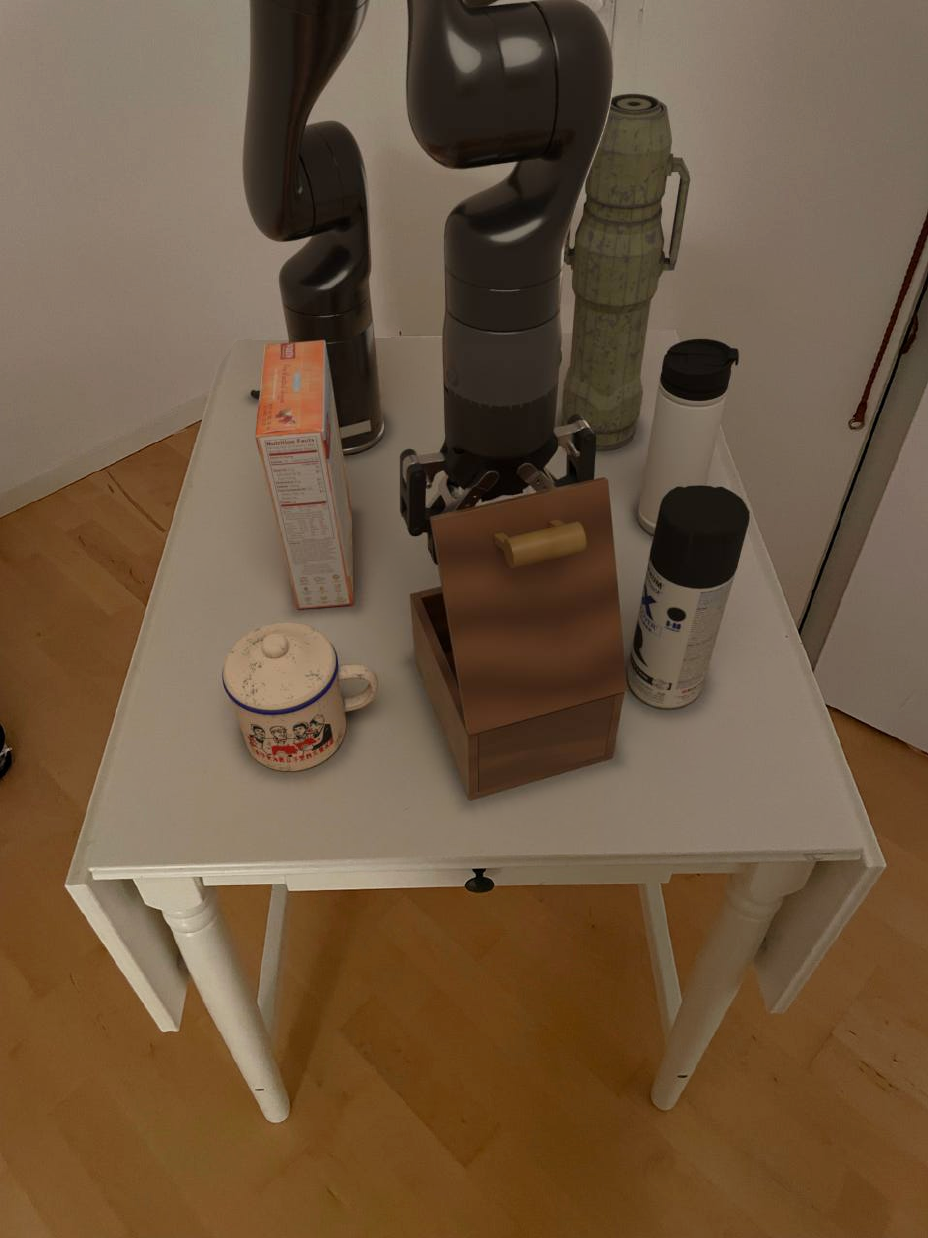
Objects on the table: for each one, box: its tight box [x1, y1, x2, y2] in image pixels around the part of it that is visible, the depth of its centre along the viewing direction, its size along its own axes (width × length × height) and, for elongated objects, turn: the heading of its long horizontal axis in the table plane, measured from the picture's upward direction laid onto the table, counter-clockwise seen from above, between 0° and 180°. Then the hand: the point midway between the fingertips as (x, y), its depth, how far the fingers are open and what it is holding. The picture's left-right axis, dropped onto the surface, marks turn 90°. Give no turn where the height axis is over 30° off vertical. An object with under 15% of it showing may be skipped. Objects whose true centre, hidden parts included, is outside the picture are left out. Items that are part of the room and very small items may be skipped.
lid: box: [430, 476, 628, 735], centre depth 63 cm, size 16×13×5 cm
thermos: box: [561, 93, 691, 452], centre depth 95 cm, size 9×12×35 cm
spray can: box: [627, 485, 751, 710], centre depth 74 cm, size 7×7×20 cm
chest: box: [409, 585, 625, 801], centre depth 77 cm, size 16×13×9 cm
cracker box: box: [254, 340, 355, 610], centre depth 85 cm, size 14×6×21 cm, turn 5°
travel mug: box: [637, 338, 740, 536], centre depth 89 cm, size 6×7×20 cm
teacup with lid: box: [221, 622, 379, 772], centre depth 74 cm, size 12×9×12 cm
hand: (496, 550), depth 71 cm, fingers open, 8 cm apart
